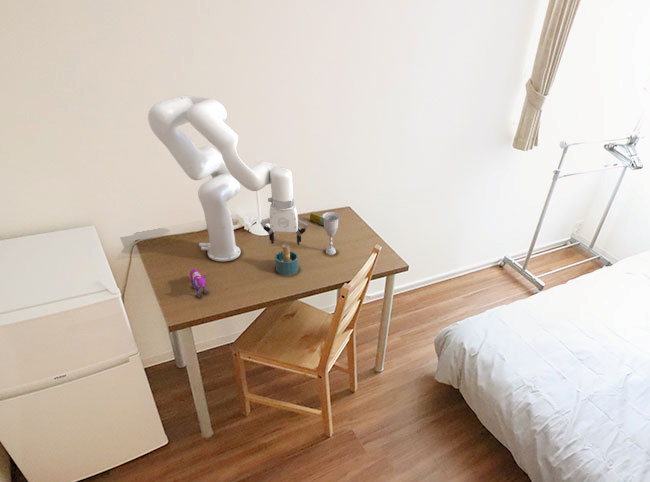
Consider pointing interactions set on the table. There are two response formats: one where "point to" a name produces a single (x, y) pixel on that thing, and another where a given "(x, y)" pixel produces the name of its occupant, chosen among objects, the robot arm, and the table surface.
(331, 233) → the chalice
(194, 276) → the toy dog
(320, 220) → the medication box
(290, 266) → the crock
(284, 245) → the pestle
